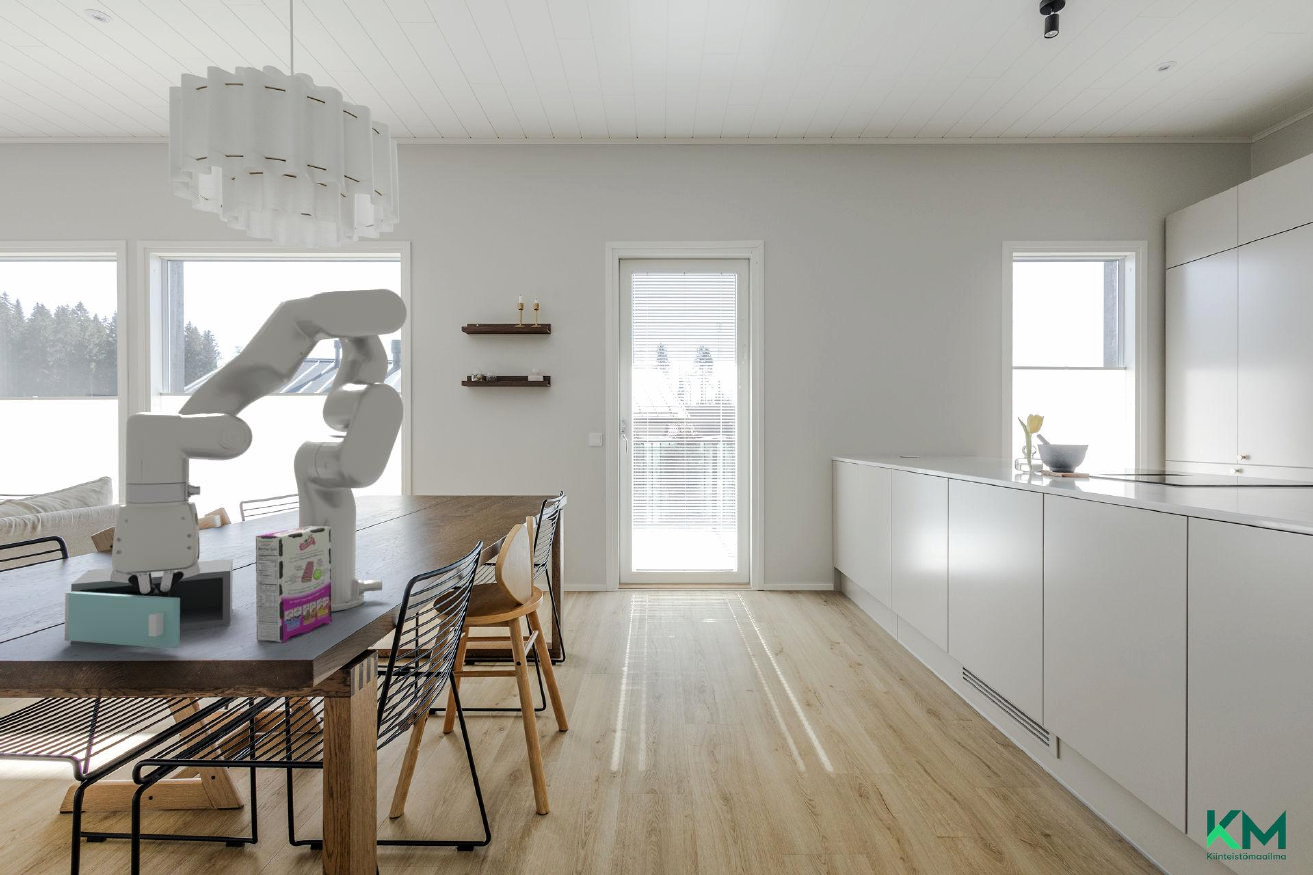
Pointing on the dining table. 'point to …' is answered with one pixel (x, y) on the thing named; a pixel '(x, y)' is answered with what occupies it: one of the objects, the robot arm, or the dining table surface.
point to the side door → (122, 619)
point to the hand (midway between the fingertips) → (156, 617)
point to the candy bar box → (293, 582)
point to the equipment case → (178, 592)
